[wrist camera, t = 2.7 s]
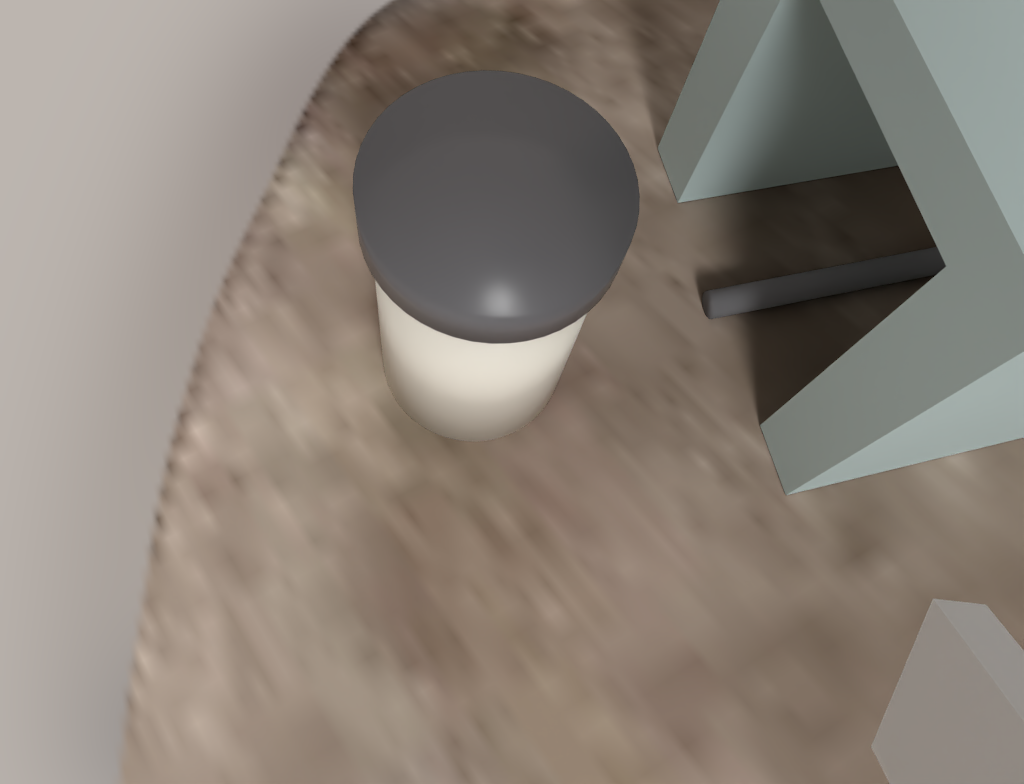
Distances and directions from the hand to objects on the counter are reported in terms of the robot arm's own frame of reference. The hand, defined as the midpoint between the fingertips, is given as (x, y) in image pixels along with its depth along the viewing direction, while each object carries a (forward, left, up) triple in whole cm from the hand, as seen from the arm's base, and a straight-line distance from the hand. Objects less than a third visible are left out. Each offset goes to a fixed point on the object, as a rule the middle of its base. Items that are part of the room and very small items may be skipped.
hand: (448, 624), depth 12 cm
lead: (-21, -10, -14) cm, 27 cm away
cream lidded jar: (-4, -10, -14) cm, 18 cm away
